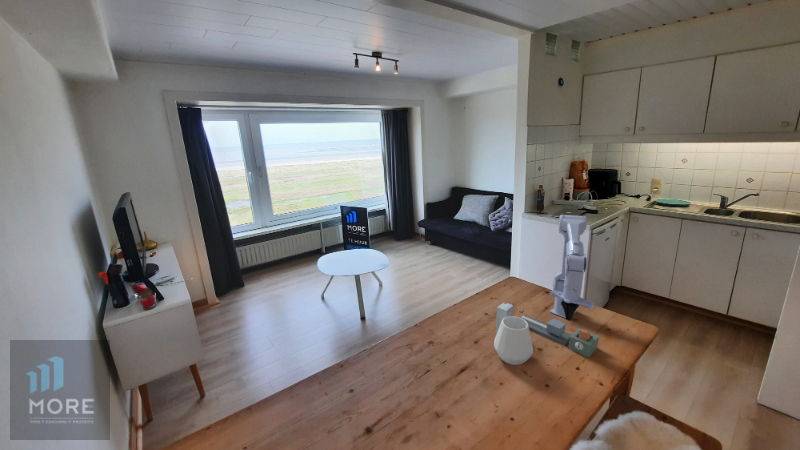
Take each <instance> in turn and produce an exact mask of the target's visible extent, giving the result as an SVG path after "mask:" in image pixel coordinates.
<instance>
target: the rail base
mask: <svg viewBox="0 0 800 450" xmlns="http://www.w3.org/2000/svg"><path fill="white" fill-rule="evenodd" d="M520 318H522V319H524V320H525V321H526V322H527V323H528V327H529V331H530V332H531V331H532V332H534V333H536V334H539V335H541V336H543V337H544V338H546V339H549V340H551V341H553V342H556V343H557V344H560V345H563V346H564V347H565V346H566V345H567V344H569V340H570V336H571V335H572V334H571V333H569V332H566V331H564V333H562V334H561V336H560V337H558V336H556V335H554V334H552V333H549V332H547V330H546V329H547V323H545V322H542V321H540V320H538V319H536V318H533V317H531V316H529V315H521V316H520Z"/></svg>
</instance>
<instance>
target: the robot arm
mask: <svg viewBox="0 0 800 450" xmlns="http://www.w3.org/2000/svg"><path fill="white" fill-rule="evenodd" d="M587 221H588V219H587V216H586V215H572V214H571V215H569V214H560V215H559V219H558V233H559V234H561V235H563V236H562V237H563V247H562V257H561V259H562V260H561V269H560V270H561V271H560V272H558V273H556V274H554V276H553V281H552V290H551V291H550V297H554V302H553V303H554V305H553V308H551V309H550V310H549V312H550V313H551V314H555V315H556V316H559V317H562V318H564V319H565V320H567V321H571V320H572V319H573V316H574V314H575V313H577V312H578V310H577V309H578V308H579V307H583V308H586V309H587V310H590V311H592V310H593V308H594V303H593V302H590V301H588V300H586V299H584V297H581V295H582V288H583V280H584V273H586V270H587V267H588V266H587V265H588V259H587V256H586V254H585V250H584V249H585V248H584V242H582V241H581V239H580V238H581V237H580V236H582V235H583V234H584V233H585V231H586V230H587V223H588V222H587Z"/></svg>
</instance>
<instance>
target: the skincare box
mask: <svg viewBox="0 0 800 450" xmlns="http://www.w3.org/2000/svg"><path fill="white" fill-rule="evenodd" d="M508 316H514V304H511V303H508V302H505V301H504V302H502V303H501V304H500V305H498V306H497V307H496V320H495V323H496V324H495V335H497V332H498V330H499V327H500V324H501V322H502V320H503V318H505V317H508Z"/></svg>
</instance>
